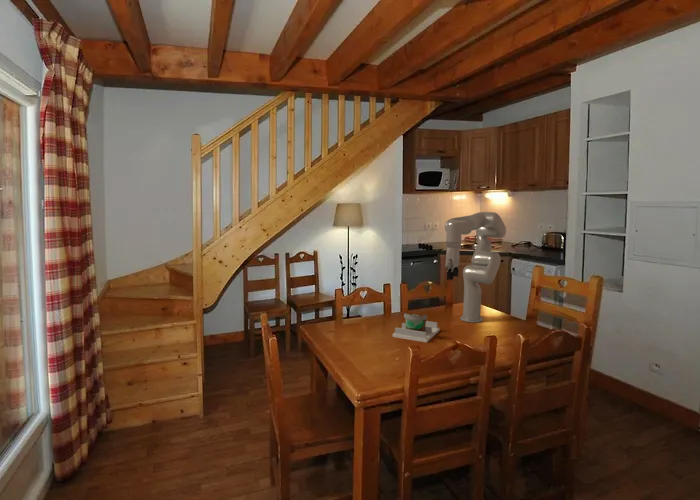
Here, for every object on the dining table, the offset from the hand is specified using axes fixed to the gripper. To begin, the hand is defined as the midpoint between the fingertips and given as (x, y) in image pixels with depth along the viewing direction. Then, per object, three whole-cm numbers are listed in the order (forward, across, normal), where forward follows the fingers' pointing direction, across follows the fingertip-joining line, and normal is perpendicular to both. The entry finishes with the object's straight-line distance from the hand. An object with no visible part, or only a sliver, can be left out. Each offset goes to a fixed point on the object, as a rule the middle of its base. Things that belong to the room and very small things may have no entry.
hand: (452, 277), depth 234 cm
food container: (+27, +19, -14) cm, 36 cm away
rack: (+28, +14, -14) cm, 35 cm away
